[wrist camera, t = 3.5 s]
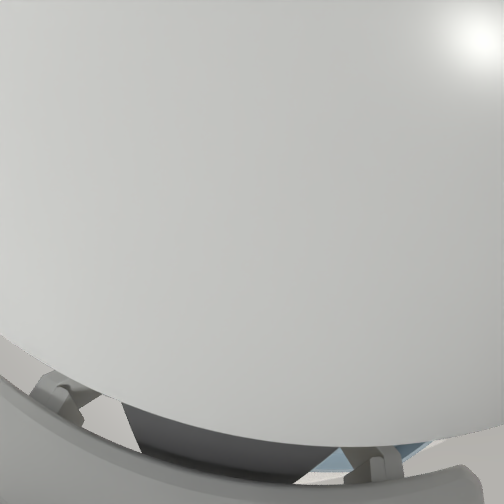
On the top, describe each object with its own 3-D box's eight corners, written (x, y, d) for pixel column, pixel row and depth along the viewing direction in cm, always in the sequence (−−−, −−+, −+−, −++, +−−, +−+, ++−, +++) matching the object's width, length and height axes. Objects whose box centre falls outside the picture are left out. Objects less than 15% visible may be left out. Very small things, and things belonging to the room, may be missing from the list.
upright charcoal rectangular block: (320, 252, 13) (348, 440, 5) (279, 364, 16) (266, 501, 8) (212, 228, 13) (116, 392, 5) (199, 346, 17) (153, 477, 9)
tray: (452, 397, 17) (460, 418, 15) (391, 450, 22) (394, 468, 20) (349, 396, 17) (352, 424, 15) (301, 450, 23) (300, 471, 20)
